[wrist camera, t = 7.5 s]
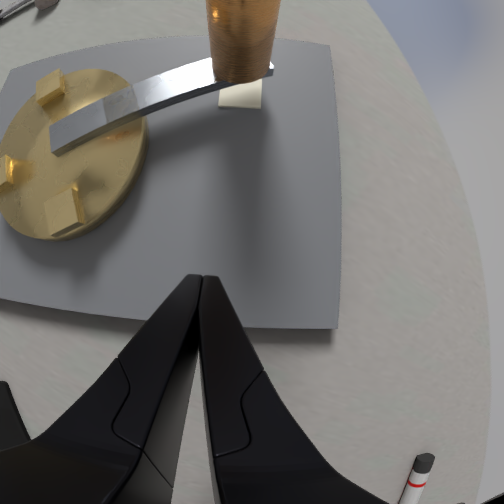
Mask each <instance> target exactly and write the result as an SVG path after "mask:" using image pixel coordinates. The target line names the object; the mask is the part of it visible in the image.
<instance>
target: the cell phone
mask: <svg viewBox="0 0 504 504" xmlns="http://www.w3.org/2000/svg"><path fill="white" fill-rule="evenodd" d="M29 441H31V439H30V436H29V434H28V432H27V430H26V428H25V425H24V423H23V421H22V419H21V416H20V414H19V411H18V409H17V406H16V404H15V401H14V399H13V396H12V393H11V390H10V388H9V385H8V383H7V382H5V381H0V451H1V450H5V449H8V448H11V447H14V446H17V445H21V444H24V443H26V442H29Z"/></svg>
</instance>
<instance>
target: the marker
mask: <svg viewBox="0 0 504 504" xmlns="http://www.w3.org/2000/svg"><path fill="white" fill-rule="evenodd" d="M434 459H435V456H434V455H433V454H430V453H425V454H421V455H418V456H417V459H416V461H415V464H414V467H413V469H412V472H411V475H410V477H409V480H408V483H407V485H406V488H405V490H404V493H403V495H402V498H401V500H400V502H399V504H417V502H418V500H419V498H420V496H421V493H422V491H423V489H424V486H425V484H426V481H427V479H428V476H429V474H430V471H431V468H432V465H433V462H434Z"/></svg>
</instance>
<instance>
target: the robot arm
mask: <svg viewBox="0 0 504 504" xmlns="http://www.w3.org/2000/svg"><path fill="white" fill-rule="evenodd" d="M198 353H199V359H200V373H201V386H202V398H203V409H204V419H205V429H206V438H207V447H208V456H209V464H210V472H211V480H212V487H213V494H214V501H215V504H389V503H387V502H385V501H383V500H382V499H380V498H378V497H376V496H375V495H373V494H371V493H369V492H368V491H366V490H364V489H363V488H361V487H359V486H358V485H356V484H354V483H353V482H351V481H350V480H348V479H346V478H345V477H343V476H342V475H341V474H339V473H338V472H337V471H336V470H335V469H334V468H333V467H332V466H331V465H330V464H329V463H328V462H327V461H326V460H325V459H324V457H323V456H322V455H321V454H320V452H319V451H318V450H317V448H316V447H315V446H314V445H313V443H312V442H311V441H310V439H309V438H308V437H307V435H306V434H305V433H304V431H303V430H302V429H301V427H300V426H299V425H298V423H297V422H296V421H295V419H294V418H293V416H292V415H291V414H290V412H289V411H288V409H287V408H286V406H285V405H284V403H283V402H282V400H281V399H280V397H279V395H278V393H277V392H276V390H275V388H274V386H273V385H272V383H271V381H270V379H269V377H268V375H267V373H266V371H264V368H263V366H262V364H261V362H260V360H259V358H258V356H257V354H256V352H255V350H254V348H253V346H252V344H251V342H250V340H249V338H248V336H247V334H246V332H245V330H244V328H243V326H242V324H241V322H240V319H239V317H238V315H237V313H236V311H235V309H234V307H233V305H232V303H231V301H230V299H229V297H228V295H227V293H226V290H225V288H224V286H223V284H222V282H221V280H220V278H219V277H218V276H215V275H204V276H202V275H200V274H187V275H186V276H185V277H184V278H183V280H182V281H181V282H180V283H179V284H178V285H177V286H176V288H175V289H174V290H173V291H172V292H171V293H170V294H169V296H168V297H167V298H166V299H165V300H164V301H163V303H162V304H161V305H160V306H159V307H158V308H157V310H156V311H155V312H154V313H153V314H152V315H151V317H150V318H149V319H148V320H147V321H146V322H145V324H144V325H143V326H142V327H141V328H140V330H139V331H138V332H137V333H136V334H135V335H134V337H133V338H132V339H131V340H130V341H129V343H128V344H127V345H126V346H125V347H124V349H123V350H122V351H121V352H120V353H119V355H118V358H115V359H114V360H113V362H112V363H111V364H110V365H109V367H108V368H107V369H106V370H105V371H104V372H103V374H102V375H101V376H100V377H99V378H98V379H97V381H96V382H95V383H94V384H93V385H92V386H91V387H90V388H89V389H88V390H87V391H86V392H85V393H84V394H83V395H82V396H81V397H80V398H79V399H78V400H77V401H76V402H75V403H74V404H73V405H72V406H71V407H70V408H69V409H68V410H67V411H66V412H64V413H63V414H62V415H61V416H60V417H59V418H58V419H57V420H56V421H55V422H54V423H53V424H52V425H51V426H50V427H49V428H48V429H47V430H46V431H45V432H43V433H42V434H41V435H39V436H38V437H36V438H34V439H33V440H31V441H29V442H26V443H24V444H21V445H17V446H14V447H11V448H8V449H5V450H1V451H0V504H171V499H172V493H173V489H172V488H173V487H174V481H175V475H176V469H177V463H178V457H179V452H180V446H181V441H182V435H183V430H184V425H185V419H186V414H187V409H188V404H189V398H190V393H191V388H192V383H193V378H194V373H195V368H196V363H197V358H198ZM458 504H465V503H458ZM482 504H504V493H502V494H500V495H497V496H495V497H493V498H491V499H489V500H487V501H485V502H483V503H482Z"/></svg>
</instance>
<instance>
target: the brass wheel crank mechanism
mask: <svg viewBox="0 0 504 504" xmlns="http://www.w3.org/2000/svg"><path fill="white" fill-rule="evenodd" d="M280 2H281V0H206V9H207V20H208V31H209V41H210V52H211V58H208V59H205V60H201V61H198V62H195V63H191V64H188V65H185V66H182V67H179V68H176V69H173V70H170V71H167V72H164V73H162V74H159V75H156V76H153V77H151V78H148V79H146V80H143V81H141V82H138V83H136V84H133V85H130V84H129V83H128V82H127V81H126V80H125V79H124V78H122V77H121V76H119V75H117V74H115V73H113V72H110V71H107V70H102V69H84V70H78V71H74V72H71V73H68V74H65V75H64V73H63V72H62V71H61V70H60V68H58V69H57V70H55V71H53V72H51V73H50V74H48V75H46V76H45V77H43V78H41V79H40V80H38V81H37V82H36V93H35V94H34V95H33V96H32V97H31V98H30V99H29V100H28V101H27V102H26V103H25V104H24V105H23V106H22V107H21V109H20V110H19V111H18V113H17V114H16V115H15V117H14V118H13V120H12V121H11V123H10V125H9V126H8V128H7V130H6V132H5V134H4V136H3V139H2V141H1V144H0V212H1V213H2V215H3V217H4V219H5V220H6V221H7V222H8V224H9V225H10V226H11V227H13V228H14V229H15V230H16V231H18V232H20V233H21V234H23V235H26V236H29V237H33V238H37V239H41V240H46V241H54V242H57V241H67V240H72V239H75V238H78V237H80V236H83V235H85V234H87V233H89V232H91V231H93V230H94V229H96V228H97V227H98V226H100V225H101V224H103V223H104V222H105V221H106V220H107V219H108V218H110V217H111V216H112V215H113V214H114V213H115V212H116V211H117V209H118V208H119V207H120V206H121V205H122V204H123V202H124V201H125V200H126V198H127V197H128V196H129V194H130V193H131V191H132V189H133V187H134V186H135V184H136V182H137V180H138V178H139V176H140V174H141V171H142V168H143V165H144V163H145V160H146V155H147V150H148V143H149V126H148V121H147V116H146V115H148V114H151V113H153V112H156V111H158V110H161V109H164V108H166V107H169V106H172V105H175V104H177V103H180V102H183V101H186V100H189V99H192V98H195V97H198V96H201V95H204V94H207V93H211V92H214V91H217V90H221V89H224V88H227V87H231V86H235V85H238V84H246V83H251V82H254V81H257V80H259V79H262V78H266V77H271V76H273V72H274V67H273V65H272V63H271V55H272V49H273V43H274V37H275V31H276V25H277V19H278V13H279V7H280Z"/></svg>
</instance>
